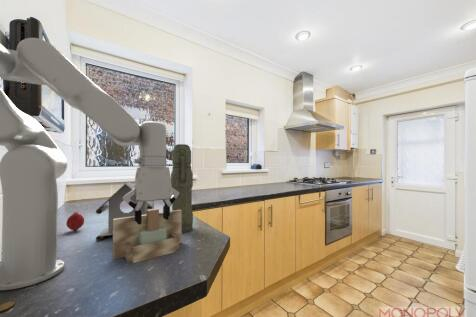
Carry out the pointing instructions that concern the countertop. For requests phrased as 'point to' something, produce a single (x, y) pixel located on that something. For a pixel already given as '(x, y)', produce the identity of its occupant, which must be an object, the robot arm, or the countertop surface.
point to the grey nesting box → (115, 208)
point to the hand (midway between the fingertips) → (152, 220)
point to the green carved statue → (183, 184)
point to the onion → (75, 221)
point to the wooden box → (128, 243)
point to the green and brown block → (152, 228)
